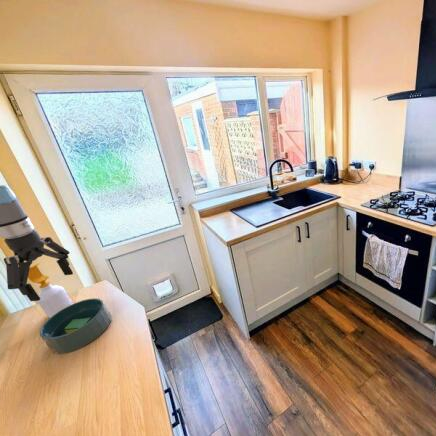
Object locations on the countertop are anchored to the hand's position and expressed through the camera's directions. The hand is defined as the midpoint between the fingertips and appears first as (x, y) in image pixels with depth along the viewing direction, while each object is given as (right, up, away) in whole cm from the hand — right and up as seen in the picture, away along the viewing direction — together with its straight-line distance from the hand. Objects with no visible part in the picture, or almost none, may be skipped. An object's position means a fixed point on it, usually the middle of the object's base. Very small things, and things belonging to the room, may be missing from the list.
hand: (53, 286), depth 87 cm
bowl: (+2, -21, +10) cm, 23 cm away
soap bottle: (-18, -17, +22) cm, 33 cm away
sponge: (+2, -20, +9) cm, 22 cm away
